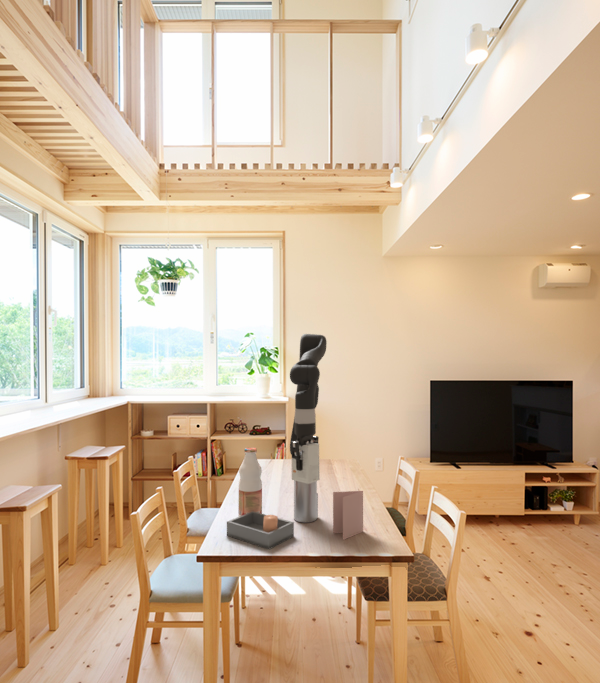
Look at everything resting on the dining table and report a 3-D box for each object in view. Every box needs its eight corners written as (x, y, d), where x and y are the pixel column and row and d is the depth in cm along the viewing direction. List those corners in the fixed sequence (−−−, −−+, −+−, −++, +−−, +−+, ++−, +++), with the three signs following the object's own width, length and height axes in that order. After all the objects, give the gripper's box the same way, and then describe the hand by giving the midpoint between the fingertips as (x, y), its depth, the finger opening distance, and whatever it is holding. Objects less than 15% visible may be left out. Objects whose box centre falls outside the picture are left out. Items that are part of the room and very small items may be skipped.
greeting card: (362, 530, 169) (362, 490, 170) (368, 538, 162) (368, 496, 162) (332, 532, 168) (332, 491, 168) (337, 540, 160) (337, 497, 161)
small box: (319, 480, 160) (319, 443, 161) (308, 484, 155) (308, 446, 156) (302, 476, 166) (302, 440, 166) (291, 479, 161) (290, 443, 161)
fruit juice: (233, 519, 180) (233, 449, 181) (248, 513, 188) (249, 445, 189) (251, 524, 175) (252, 451, 176) (266, 517, 183) (266, 447, 184)
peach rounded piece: (266, 533, 163) (267, 513, 163) (279, 536, 161) (280, 516, 161) (260, 538, 158) (261, 518, 159) (273, 541, 157) (274, 521, 157)
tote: (252, 524, 175) (252, 511, 176) (293, 536, 164) (293, 522, 164) (226, 535, 164) (226, 521, 164) (268, 549, 152) (268, 534, 153)
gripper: (307, 417, 169) (308, 462, 169) (284, 422, 157) (284, 470, 157) (324, 419, 165) (325, 465, 164) (302, 424, 153) (302, 474, 153)
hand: (305, 468), depth 161 cm, fingers closed on small box, 6 cm apart
